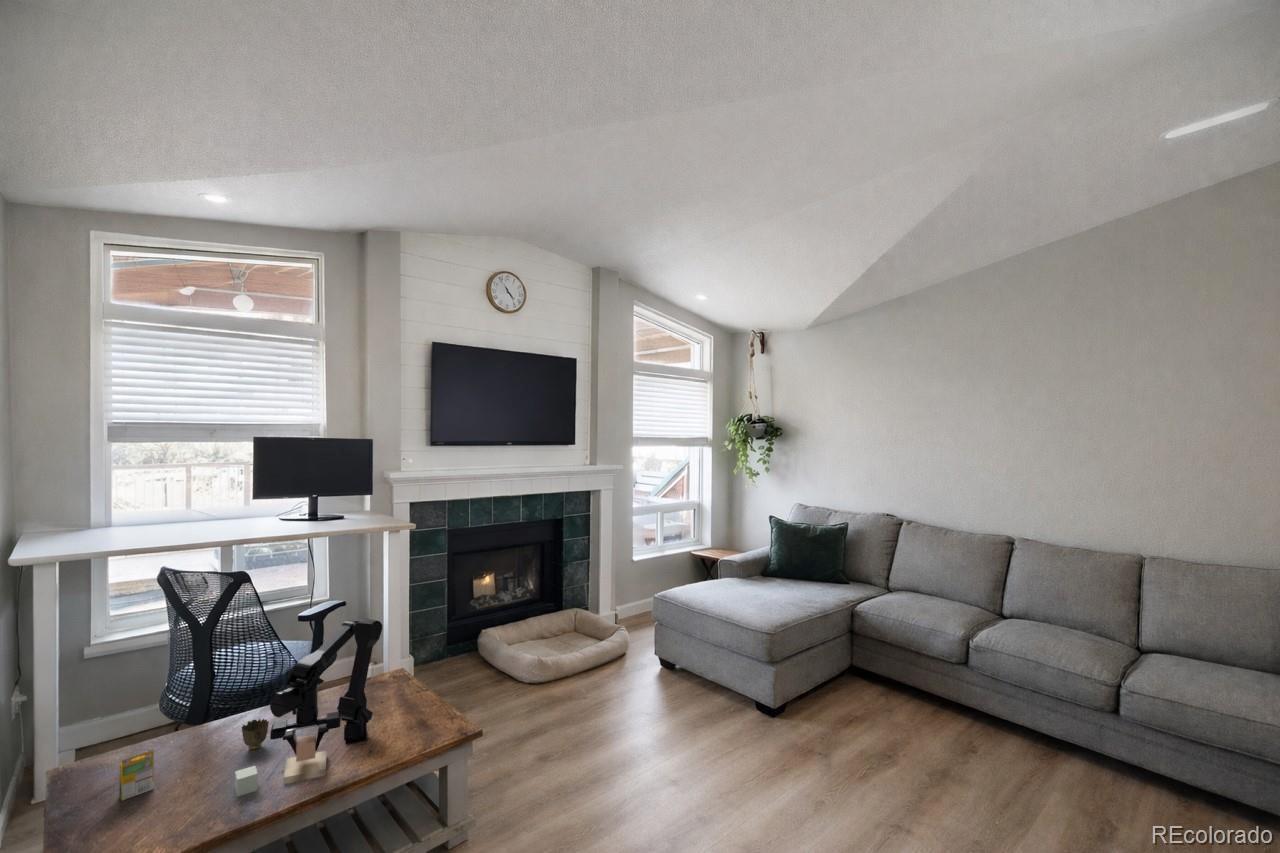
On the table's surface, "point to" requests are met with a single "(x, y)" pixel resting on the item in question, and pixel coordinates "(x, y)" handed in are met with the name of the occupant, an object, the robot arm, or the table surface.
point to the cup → (255, 733)
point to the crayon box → (136, 775)
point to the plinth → (305, 768)
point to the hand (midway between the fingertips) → (306, 752)
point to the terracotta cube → (305, 747)
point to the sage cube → (246, 780)
